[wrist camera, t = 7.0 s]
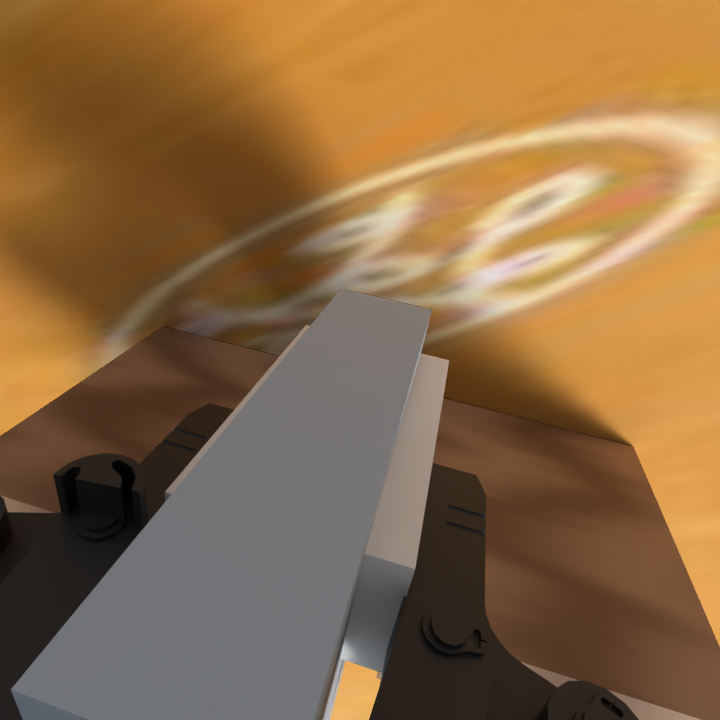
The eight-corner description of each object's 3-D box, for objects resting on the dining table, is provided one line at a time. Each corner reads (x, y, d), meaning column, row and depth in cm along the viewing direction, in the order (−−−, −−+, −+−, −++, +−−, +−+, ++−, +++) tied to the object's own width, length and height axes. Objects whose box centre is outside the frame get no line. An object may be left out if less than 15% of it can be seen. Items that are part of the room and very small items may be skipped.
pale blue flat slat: (352, 632, 19) (239, 1064, 10) (295, 613, 19) (139, 1018, 11) (432, 309, 12) (291, 796, 4) (341, 288, 13) (10, 690, 4)
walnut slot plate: (165, 372, 22) (-37, 538, 14) (162, 326, 21) (-60, 476, 13) (608, 491, 20) (701, 787, 11) (633, 446, 19) (758, 737, 10)
